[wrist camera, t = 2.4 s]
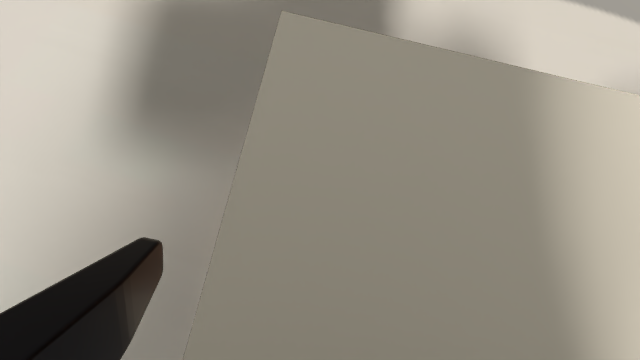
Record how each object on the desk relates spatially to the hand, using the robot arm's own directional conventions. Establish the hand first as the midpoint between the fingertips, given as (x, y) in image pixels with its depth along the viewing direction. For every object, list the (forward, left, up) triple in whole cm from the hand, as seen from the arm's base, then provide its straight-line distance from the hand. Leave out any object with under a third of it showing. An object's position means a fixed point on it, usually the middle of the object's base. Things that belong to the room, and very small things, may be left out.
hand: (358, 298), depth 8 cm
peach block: (+1, +1, -9) cm, 9 cm away
